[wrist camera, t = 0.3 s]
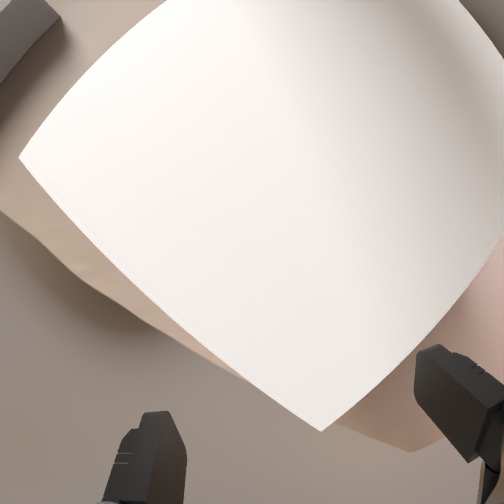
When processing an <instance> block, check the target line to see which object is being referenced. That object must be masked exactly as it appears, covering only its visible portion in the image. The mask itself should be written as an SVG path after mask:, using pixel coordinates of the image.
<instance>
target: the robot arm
mask: <svg viewBox="0 0 504 504" xmlns="http://www.w3.org/2000/svg"><path fill="white" fill-rule="evenodd" d="M414 395H415V398H416V401H417V403H418V404H419V405H420V407H421V408H422V409H423V410H424V411H425V412H426V414H427V415H428V416H429V417H430V418H431V420H432V421H433V422H434V423H435V424H436V425H437V427H438V428H439V429H440V430H441V431H442V433H443V434H444V435H445V436H446V437H447V438H448V440H449V441H450V442H451V443H452V445H453V446H454V447H455V448H456V449H457V451H458V452H459V453H460V454H461V455H462V457H463V458H464V459H465V460H466V462H467V463H470V462H471V461H473V460H474V459H476V458H478V457H479V456H480V457H481V458H482V459H483V461H482V464H481V470H480V481H479V489H478V497H477V504H504V385H503V384H502V383H500V382H499V381H498V380H497V379H495V378H494V377H493V376H492V375H490V374H489V373H488V372H485V370H484V369H483V368H481V367H480V366H477V364H476V363H475V362H473V361H472V360H471V359H470V358H468V357H466V356H464V355H461V354H458V353H455V352H454V353H451V352H450V351H448V350H447V349H446V348H445V347H443V346H442V345H440V344H436V345H434V346H431V347H429V348H426V349H424V350H421V351H419V352H418V353H417V356H416V368H415V380H414ZM186 466H187V454H186V449H185V446H184V443H183V441H182V439H181V436H180V434H179V432H178V430H177V428H176V425H175V424H174V421H173V419H172V417H171V414H170V413H169V412H168V411H159V412H146V413H144V414H143V416H142V419H141V422H140V425H139V428H138V429H131V430H130V431H129V432H128V433H127V435H126V436H125V437H124V438H123V439H122V441H121V444H120V447H119V449H118V454H117V455H116V458H115V464H113V467H112V470H111V474H110V477H109V480H108V483H107V486H106V489H105V492H104V496H103V499H102V501H101V502H99V503H95V504H183V500H184V487H185V476H186Z"/></svg>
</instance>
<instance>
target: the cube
mask: <svg viewBox="0 0 504 504" xmlns="http://www.w3.org/2000/svg"><path fill="white" fill-rule="evenodd" d="M18 158H19V159H20V160H21V162H22V163H23V164H24V165H25V167H26V168H27V169H28V170H29V172H30V173H31V174H32V175H33V176H34V178H35V179H36V180H37V181H38V182H39V184H40V185H41V186H42V187H43V188H44V190H45V191H46V192H47V193H48V194H49V195H50V196H51V198H52V199H53V200H54V201H55V202H56V203H57V205H58V206H59V207H60V208H61V209H62V210H63V211H64V212H65V213H66V215H67V216H68V217H69V218H70V219H71V220H72V221H73V222H74V223H75V224H76V225H77V227H78V228H79V229H80V230H81V231H82V232H83V233H84V234H85V235H86V236H87V237H88V238H89V239H90V240H91V241H92V242H93V243H94V245H95V246H96V247H97V248H98V249H99V250H100V251H101V252H102V253H103V254H104V255H105V256H106V257H107V258H108V259H109V260H110V261H111V262H112V263H113V264H114V265H115V266H116V267H117V268H118V269H119V270H120V271H121V272H122V273H123V274H124V275H126V276H127V277H128V278H129V279H130V280H131V281H132V282H133V283H134V284H135V285H136V286H137V287H138V288H139V289H140V290H141V291H142V292H143V293H145V294H146V295H147V296H148V297H149V298H150V299H151V300H152V301H153V302H154V303H155V304H157V305H158V306H159V307H160V308H161V309H162V310H163V311H164V312H165V313H167V314H168V315H169V316H170V317H171V318H172V319H173V320H174V321H176V322H177V323H178V324H179V325H180V326H181V327H183V328H184V329H185V330H186V331H187V332H188V333H190V334H191V335H192V336H193V337H194V338H195V339H197V340H198V341H199V342H200V343H201V344H203V345H204V346H205V347H206V348H208V349H209V350H210V351H211V352H212V353H214V354H215V355H216V356H217V357H219V358H220V359H221V360H222V361H224V362H225V363H226V364H227V365H229V366H230V367H231V368H233V369H234V370H235V371H236V372H238V373H239V374H240V375H242V376H243V377H244V378H245V379H247V380H248V381H249V382H251V383H252V384H253V385H255V386H256V387H257V388H259V389H260V390H262V391H263V392H264V393H266V394H267V395H268V396H270V397H271V398H272V399H274V400H275V401H277V402H278V403H279V404H281V405H282V406H284V407H285V408H287V409H288V410H289V411H291V412H292V413H294V414H295V415H297V416H298V417H300V418H301V419H302V420H304V421H306V422H307V423H308V424H310V425H311V426H313V427H315V428H316V429H318V430H319V431H323V430H324V429H325V428H326V427H328V426H329V425H330V424H332V423H333V422H334V421H335V420H337V419H338V418H339V417H340V416H342V415H343V414H344V413H345V412H347V411H348V410H349V409H350V408H351V407H353V406H354V405H355V404H356V403H357V402H358V401H360V400H361V399H362V398H363V397H364V396H365V395H366V394H368V393H369V392H370V391H371V390H372V389H373V388H374V387H375V386H376V385H378V384H379V383H380V382H381V381H382V380H383V379H384V378H385V377H386V376H387V375H388V374H389V373H390V372H391V371H392V370H394V369H395V368H396V367H397V366H398V365H399V364H400V363H401V362H402V361H403V360H404V359H405V358H406V357H407V356H408V355H409V354H410V353H411V352H412V350H413V349H414V348H415V347H416V346H417V345H418V344H419V343H420V342H421V341H422V340H423V339H424V338H425V337H426V336H427V335H428V333H429V332H430V331H431V330H432V329H433V328H434V327H435V326H436V324H437V323H438V322H439V321H440V320H441V319H442V318H443V316H444V315H445V314H446V313H447V312H448V311H449V309H450V308H451V307H452V306H453V305H454V303H455V302H456V301H457V300H458V298H459V297H460V296H461V295H462V293H463V292H464V291H465V290H466V288H467V287H468V286H469V284H470V283H471V282H472V280H473V279H474V278H475V276H476V275H477V274H478V272H479V271H480V270H481V268H482V267H483V265H484V264H485V263H486V261H487V260H488V258H489V257H490V255H491V254H492V253H493V251H494V250H495V248H496V247H497V245H498V244H499V242H500V241H501V239H502V238H503V236H504V59H503V58H502V56H501V55H500V53H499V52H498V51H497V49H496V48H495V46H494V45H493V43H492V42H491V41H490V39H489V38H488V37H487V35H486V34H485V33H484V31H483V30H482V29H481V27H480V26H479V25H478V24H477V22H476V21H475V20H474V19H473V17H472V16H471V15H470V14H469V12H468V11H467V10H466V9H465V8H464V7H463V5H462V4H461V3H460V2H459V1H458V0H167V1H165V2H164V3H163V4H161V5H160V6H159V7H158V8H156V9H155V10H154V11H152V12H151V13H150V14H149V15H147V16H146V17H145V18H144V19H142V20H141V21H140V22H139V23H138V24H136V25H135V26H134V27H133V28H132V29H131V30H129V31H128V32H127V33H126V34H125V35H124V36H123V37H122V38H120V39H119V40H118V41H117V42H116V43H115V44H114V45H113V46H112V47H111V48H110V49H109V50H108V51H106V52H105V53H104V54H103V55H102V56H101V57H100V58H99V59H98V60H97V61H96V62H95V63H94V64H93V65H92V66H91V67H90V69H89V70H88V71H87V72H86V73H85V74H84V75H83V76H82V77H81V78H80V79H79V80H78V81H77V82H76V84H75V85H74V86H73V87H72V88H71V89H70V90H69V91H68V93H67V94H66V95H65V96H64V97H63V98H62V100H61V101H60V102H59V103H58V104H57V106H56V107H55V108H54V109H53V111H52V112H51V113H50V114H49V116H48V117H47V118H46V120H45V121H44V122H43V123H42V125H41V126H40V127H39V129H38V130H37V132H36V133H35V134H34V136H33V137H32V138H31V140H30V141H29V143H28V144H27V146H26V147H25V148H24V150H23V151H22V153H21V154H20V156H19V157H18Z"/></svg>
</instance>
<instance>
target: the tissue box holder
mask: <svg viewBox="0 0 504 504" xmlns="http://www.w3.org/2000/svg"><path fill="white" fill-rule="evenodd" d="M59 18H60V15H59V14H58V13H57V12H56V11H55V10H54V9H53V8H52V7H51V6H50V5H49V4H48V3H47V2H46V1H45V0H0V84H1V83H2V82H3V80H4V79H5V78H6V76H7V75H8V74H9V73H10V71H11V70H12V69H13V68H14V66H15V65H16V64H17V63H18V62H19V60H20V59H21V58H22V57H23V56H24V54H25V53H26V52H27V51H28V50H29V49H30V48H31V47H32V45H33V44H34V43H35V42H36V41H37V40H38V39H39V38H40V37H41V36H42V35H43V34H44V33H45V32H46V31H47V29H48V28H49V27H50V26H51V25H52V24H53V23H54V22H56V21H57V20H58V19H59Z"/></svg>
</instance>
